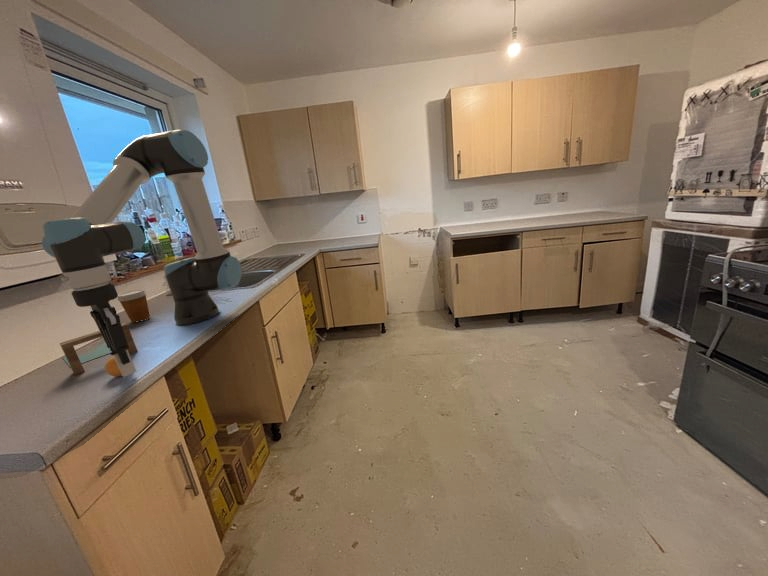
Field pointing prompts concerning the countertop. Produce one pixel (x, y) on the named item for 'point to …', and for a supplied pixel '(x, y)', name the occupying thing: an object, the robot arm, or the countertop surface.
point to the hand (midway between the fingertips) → (129, 373)
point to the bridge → (69, 344)
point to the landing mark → (93, 354)
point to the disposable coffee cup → (135, 305)
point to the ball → (112, 367)
